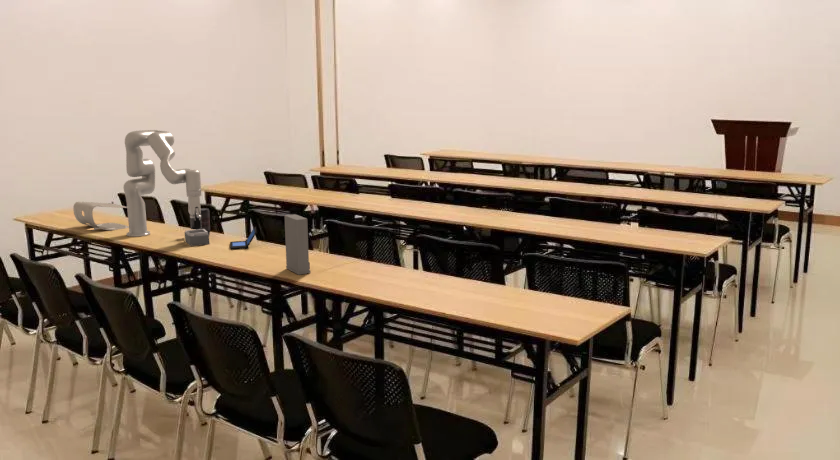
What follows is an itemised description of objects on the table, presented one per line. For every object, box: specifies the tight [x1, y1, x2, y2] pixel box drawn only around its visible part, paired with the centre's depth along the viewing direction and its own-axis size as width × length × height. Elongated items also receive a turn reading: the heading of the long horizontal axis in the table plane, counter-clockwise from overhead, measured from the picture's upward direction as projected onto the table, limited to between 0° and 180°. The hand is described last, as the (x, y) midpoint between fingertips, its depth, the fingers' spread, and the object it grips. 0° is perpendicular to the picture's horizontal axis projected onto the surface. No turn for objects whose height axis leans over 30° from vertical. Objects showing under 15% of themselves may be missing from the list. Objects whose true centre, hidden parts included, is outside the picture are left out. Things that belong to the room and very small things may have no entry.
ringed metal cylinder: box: [189, 214, 202, 230], centre depth 384 cm, size 6×6×7 cm
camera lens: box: [195, 208, 211, 236], centre depth 403 cm, size 8×8×15 cm
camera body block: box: [184, 229, 210, 247], centre depth 386 cm, size 14×10×6 cm
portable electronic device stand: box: [72, 201, 129, 231], centre depth 427 cm, size 26×24×16 cm
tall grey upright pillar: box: [284, 214, 312, 276], centre depth 323 cm, size 14×6×25 cm, turn 33°
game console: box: [229, 226, 257, 251], centre depth 377 cm, size 16×14×9 cm
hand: (196, 226), depth 384 cm, fingers closed on ringed metal cylinder, 5 cm apart
